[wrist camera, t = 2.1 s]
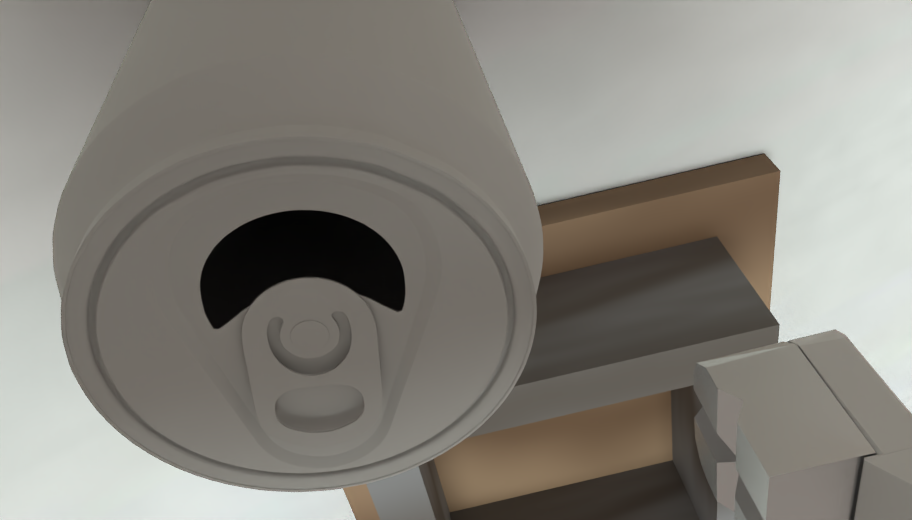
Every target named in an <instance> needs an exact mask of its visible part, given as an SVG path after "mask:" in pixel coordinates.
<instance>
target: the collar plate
mask: <svg viewBox="0 0 912 520" xmlns="http://www.w3.org/2000/svg"><path fill="white" fill-rule="evenodd" d="M779 182H780V170H779V169H778V168H777V167H776V166H775V165H774V164H773V162H772V161H771V160H770V159H769V158H768V157H767V156H766V155H765V154H761V155H757V156H753V157H749V158H744V159H740V160H736V161H731V162H727V163H723V164H718V165H714V166H710V167H705V168H701V169H697V170H692V171H688V172H684V173H679V174H675V175H671V176H667V177H662V178H658V179H654V180H649V181H645V182H641V183H636V184H632V185H628V186H623V187H619V188H615V189H610V190H606V191H602V192H598V193H593V194H589V195H585V196H580V197H576V198H572V199H567V200H563V201H559V202H554V203H550V204H546V205H541V206H537V207H538V211H539V215H540V219H541V224H542V232H543V264H542V271H541V277H540V281H539V286H538V290H537V294H536V305H537V320H536V328H535V335H534V339H533V343H532V348H531V351H530V354H529V357H528V360H527V362H526V365H525V367H524V369H523V371H522V373H521V376H520V377H519V379H518V381H517V383H516V384H515V386H514V388H513V389H512V391H511V392H510V394H509V395H508V396H507V398H506V399H505V401H504V402H503V403H502V404H501V405H500V407H499V408H498V409H497V410H496V411H495V413H494V414H493V415H492V416H491V417H490V418H489V419H488V420H487V421H486V422H485V423H484V424H483V425H481V426H480V427H479V428H478V429H477V430H476V431H474V432H473V433H472V434H471V435H470V436H468V437H467V438H465V439H464V440H463V441H461V442H460V443H459V444H457V445H456V446H454V447H453V448H451V449H449V450H448V451H446V452H445V453H443V454H441V455H439V456H437V457H436V458H434V459H432V460H430V461H428V462H426V463H424V464H422V465H419V466H417V467H415V468H413V469H410V470H408V471H406V472H403V473H401V474H398V475H395V476H392V477H388V478H385V479H382V480H378V481H375V482H371V483H367V484H363V485H358V486H352V487H346V488H343V490H344V492H345V494H346V497H347V499H348V501H349V504H350V506H351V508H352V511H353V513H354V515H355V518H356V520H734V511H732V510H730V509H729V508H727V507H725V506H724V505H722V504H721V503H719V502H717V500H716V498H715V496H714V494H713V492H712V490H711V488H710V486H709V483H708V481H707V479H706V476H705V473H704V471H703V468H702V465H701V462H700V458H699V453H698V449H697V445H696V440H695V425H694V417H695V416H696V415H697V413H698V412H699V411H700V409H701V408H702V407H703V406H702V404H701V402H700V400H699V398H698V397H697V395H696V393H695V391H694V369H695V366H696V363H698V362H702V361H706V360H710V359H715V358H719V357H723V356H727V355H731V354H735V353H739V352H743V351H747V350H751V349H756V348H760V347H764V346H768V345H772V344H776V343H778V336H779V323H778V322H777V320H776V319H775V318H774V316H773V315H772V313H771V312H770V300H771V287H772V274H773V261H774V247H775V234H776V221H777V208H778V195H779Z"/></svg>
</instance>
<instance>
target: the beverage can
mask: <svg viewBox="0 0 912 520" xmlns="http://www.w3.org/2000/svg"><path fill="white" fill-rule="evenodd" d="M53 264H54V272H55V278H56V281H57V285H58V289H59V293H60V297H61V300H62V302H61V330H62V338H63V343H64V347H65V351H66V354H67V358H68V362H69V365H70V367H71V370H72V372H73V374H74V375H75V377H76V379H77V381H78V383H79V385H80V386H81V388H82V390H83V391H84V393H85V395H86V396H87V398H88V399H89V400H90V402H91V403H92V404H93V406H94V407H95V408H96V410H97V411H98V412H99V413H100V414H101V415H102V416H103V417H104V418H105V420H106V421H107V422H108V423H110V424H111V425H112V426H113V427H114V428H115V429H116V430H117V431H118V432H119V433H121V434H122V435H123V436H124V437H126V438H127V439H128V440H130V441H131V442H132V443H133V444H135V445H136V446H138V447H140V448H141V449H143V450H144V451H146V452H147V453H149V454H151V455H152V456H154V457H156V458H158V459H160V460H161V461H163V462H165V463H168V464H170V465H172V466H174V467H176V468H178V469H181V470H183V471H186V472H188V473H191V474H194V475H197V476H200V477H203V478H206V479H209V480H213V481H217V482H220V483H224V484H228V485H234V486H239V487H244V488H251V489H258V490H267V491H284V492H308V491H323V490H334V489H341V488H346V487H352V486H358V485H363V484H367V483H371V482H375V481H378V480H382V479H385V478H388V477H392V476H395V475H398V474H401V473H403V472H406V471H408V470H410V469H413V468H415V467H417V466H419V465H422V464H424V463H426V462H428V461H430V460H432V459H434V458H436V457H437V456H439V455H441V454H443V453H445V452H446V451H448V450H449V449H451V448H453V447H454V446H456V445H457V444H459V443H460V442H461V441H463V440H464V439H465V438H467V437H468V436H470V435H471V434H472V433H473V432H474V431H476V430H477V429H478V428H479V427H480V426H481V425H483V424H484V423H485V422H486V421H487V420H488V419H489V418H490V417H491V416H492V415H493V414H494V413H495V411H496V410H497V409H498V408H499V407H500V405H501V404H502V403H503V402H504V401H505V399H506V398H507V396H508V395H509V394H510V392H511V391H512V389H513V388H514V386H515V384H516V383H517V381H518V379H519V377H520V376H521V373H522V371H523V369H524V367H525V365H526V362H527V360H528V357H529V354H530V351H531V348H532V343H533V339H534V335H535V328H536V320H537V305H536V294H537V290H538V286H539V281H540V277H541V271H542V264H543V232H542V224H541V219H540V215H539V211H538V207H537V203H536V200H535V196H534V193H533V191H532V188H531V186H530V183H529V181H528V178H527V176H526V174H525V171H524V169H523V166H522V164H521V162H520V159H519V157H518V154H517V152H516V150H515V147H514V145H513V143H512V140H511V138H510V135H509V133H508V131H507V128H506V126H505V123H504V121H503V119H502V116H501V114H500V111H499V109H498V107H497V104H496V102H495V99H494V97H493V95H492V92H491V90H490V88H489V85H488V83H487V80H486V78H485V76H484V73H483V71H482V68H481V66H480V64H479V61H478V59H477V56H476V54H475V52H474V49H473V47H472V44H471V42H470V40H469V37H468V35H467V33H466V30H465V28H464V25H463V23H462V21H461V18H460V16H459V13H458V11H457V9H456V6H455V4H454V1H453V0H151V2H150V4H149V6H148V8H147V10H146V13H145V15H144V17H143V19H142V21H141V23H140V26H139V28H138V30H137V32H136V34H135V36H134V38H133V41H132V43H131V45H130V47H129V49H128V51H127V54H126V56H125V58H124V60H123V62H122V64H121V67H120V69H119V71H118V73H117V75H116V77H115V79H114V82H113V84H112V86H111V88H110V90H109V92H108V95H107V97H106V99H105V101H104V103H103V105H102V107H101V110H100V112H99V114H98V116H97V118H96V120H95V123H94V125H93V127H92V129H91V131H90V133H89V136H88V138H87V140H86V142H85V144H84V146H83V148H82V151H81V153H80V155H79V157H78V159H77V161H76V164H75V166H74V168H73V170H72V172H71V174H70V177H69V179H68V181H67V183H66V186H65V188H64V190H63V192H62V195H61V199H60V202H59V205H58V209H57V214H56V219H55V223H54V230H53Z"/></svg>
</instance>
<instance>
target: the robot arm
mask: <svg viewBox="0 0 912 520" xmlns="http://www.w3.org/2000/svg"><path fill="white" fill-rule="evenodd" d="M694 391H695V393H696V395H697V397H698V398H699V400H700V402H701V404H702V406H703V407H702V408H701V409H700V411H699V412H698V413H697V415H696V416H695V417H694V425H695V440H696V445H697V449H698V453H699V458H700V462H701V465H702V468H703V471H704V473H705V476H706V479H707V481H708V483H709V486H710V488H711V490H712V492H713V494H714V496H715V498H716V500H717V502H719V503H721V504H722V505H724V506H725V507H727V508H729V509H730V510H732V511H734V520H912V414H911V413H910V411H909V410H908V409H907V408H906V407H905V405H904V404H903V403H902V402H901V401H900V400H899V398H898V397H897V396H896V395H895V394H894V392H893V391H892V390H891V389H890V388H889V386H888V385H887V384H886V383H885V382H884V380H883V379H882V378H881V377H880V376H879V374H878V373H877V372H876V371H875V370H874V368H873V367H872V366H871V365H870V364H869V362H868V361H867V360H866V359H865V358H864V356H863V355H862V354H861V353H860V352H859V351H858V349H857V348H856V347H855V346H854V345H853V343H852V342H851V341H850V340H849V339H848V337H847V336H846V335H845V334H843V333H841V332H839V331H837V330H831V331H827V332H823V333H818V334H814V335H810V336H806V337H802V338H798V339H794V340H789V341H788V342H780V343H776V344H772V345H768V346H764V347H760V348H756V349H751V350H747V351H743V352H739V353H735V354H731V355H727V356H723V357H719V358H715V359H710V360H706V361H702V362H698V363H696V366H695V369H694Z"/></svg>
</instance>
